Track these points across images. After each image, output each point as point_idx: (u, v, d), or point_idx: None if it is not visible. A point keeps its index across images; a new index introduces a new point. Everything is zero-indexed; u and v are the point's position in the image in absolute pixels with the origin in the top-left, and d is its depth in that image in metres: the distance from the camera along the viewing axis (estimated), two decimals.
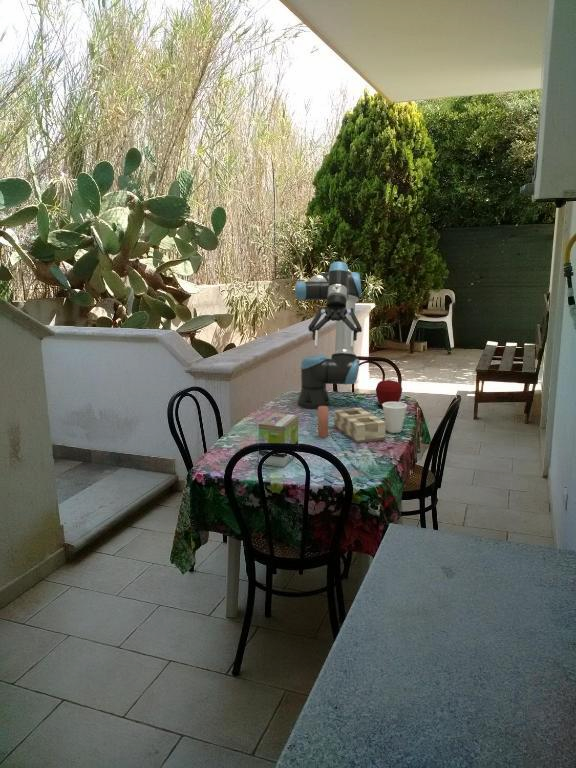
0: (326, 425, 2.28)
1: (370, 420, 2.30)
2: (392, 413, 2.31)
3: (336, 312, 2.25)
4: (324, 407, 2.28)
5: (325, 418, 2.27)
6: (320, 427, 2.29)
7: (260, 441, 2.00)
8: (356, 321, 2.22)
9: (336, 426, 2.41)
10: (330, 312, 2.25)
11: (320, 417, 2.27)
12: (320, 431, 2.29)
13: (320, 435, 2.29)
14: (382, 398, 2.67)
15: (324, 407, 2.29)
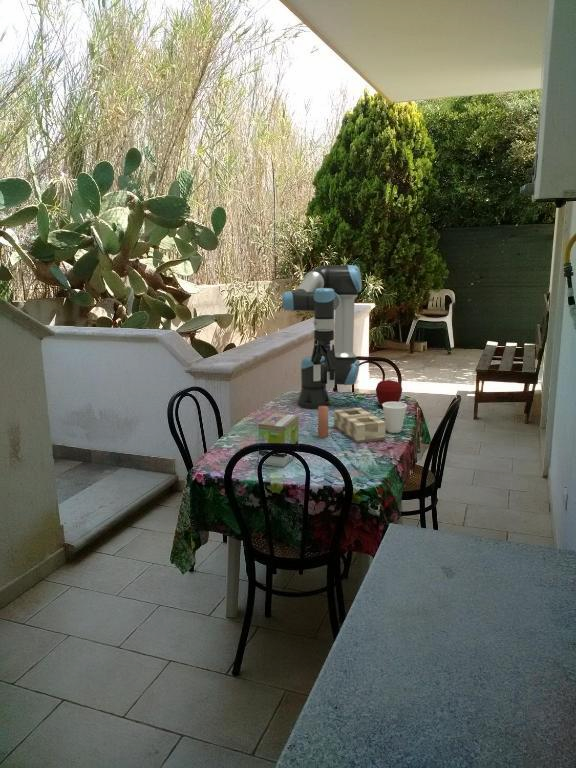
0: (326, 425, 2.28)
1: (370, 420, 2.30)
2: (392, 413, 2.31)
3: None
4: (324, 407, 2.28)
5: (325, 418, 2.27)
6: (320, 427, 2.29)
7: (260, 441, 2.00)
8: (329, 361, 2.16)
9: (336, 426, 2.41)
10: (317, 348, 2.24)
11: (320, 417, 2.27)
12: (320, 431, 2.29)
13: (320, 435, 2.29)
14: (382, 398, 2.67)
15: (324, 407, 2.29)
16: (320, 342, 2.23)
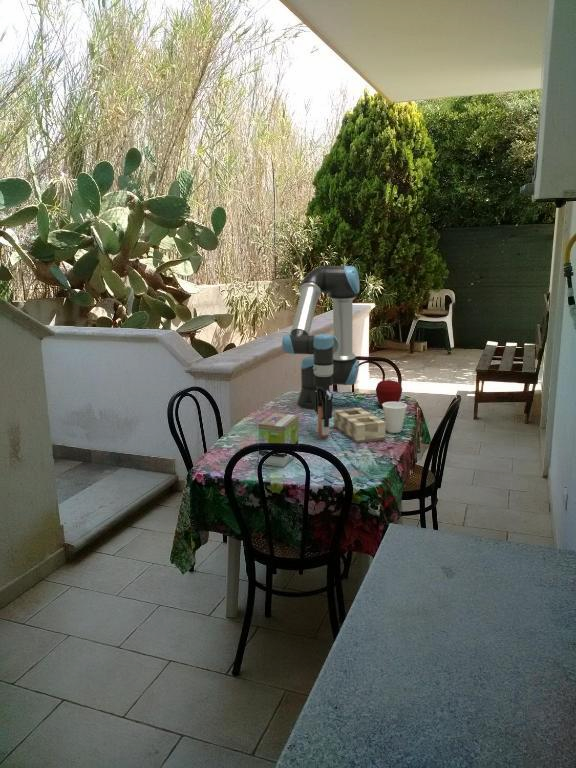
0: None
1: (370, 420, 2.30)
2: (392, 413, 2.31)
3: None
4: None
5: None
6: (320, 427, 2.29)
7: (260, 441, 2.00)
8: (325, 409, 2.23)
9: (336, 426, 2.41)
10: (317, 393, 2.28)
11: (320, 416, 2.28)
12: (320, 431, 2.29)
13: (320, 435, 2.29)
14: (382, 398, 2.67)
15: None
16: None
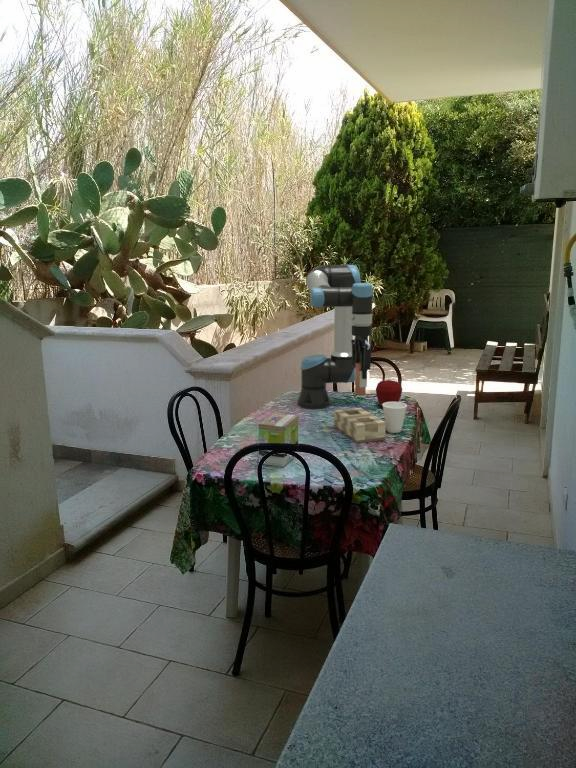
0: None
1: (370, 420, 2.30)
2: (392, 413, 2.31)
3: None
4: None
5: None
6: (357, 384, 2.23)
7: (260, 441, 2.00)
8: (364, 360, 2.18)
9: (336, 426, 2.41)
10: (355, 344, 2.22)
11: (358, 373, 2.22)
12: (357, 388, 2.24)
13: (357, 392, 2.24)
14: (382, 398, 2.67)
15: None
16: None
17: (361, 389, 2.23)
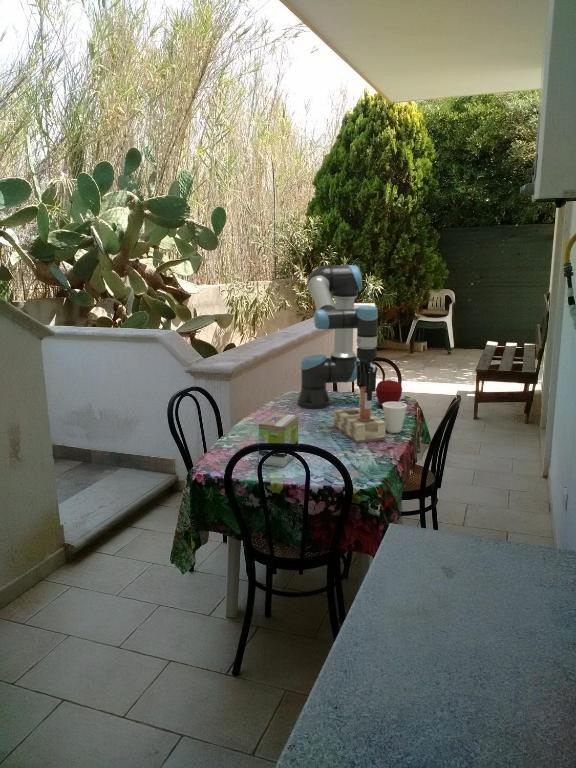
0: None
1: (370, 420, 2.30)
2: (392, 413, 2.31)
3: None
4: None
5: None
6: (363, 408, 2.25)
7: (260, 441, 2.00)
8: (369, 382, 2.19)
9: (336, 426, 2.41)
10: (360, 366, 2.24)
11: (363, 397, 2.24)
12: (362, 412, 2.26)
13: (362, 416, 2.26)
14: (382, 397, 2.67)
15: None
16: None
17: (366, 413, 2.25)
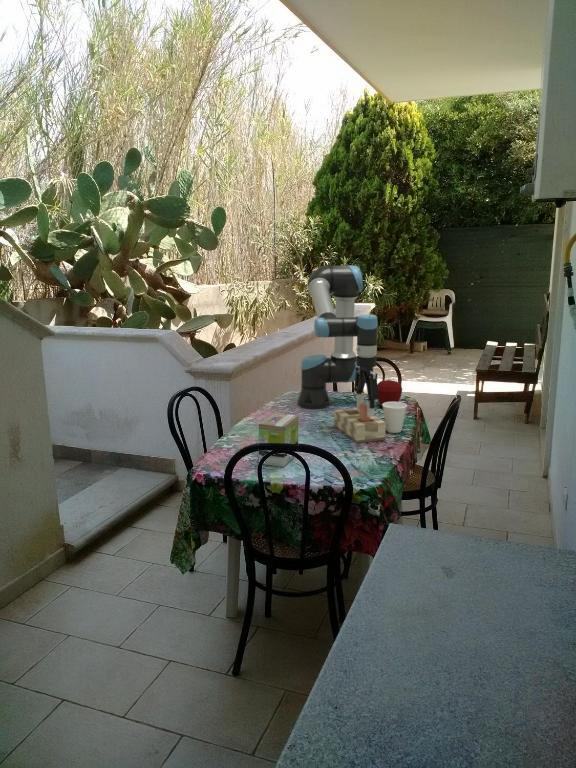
0: None
1: (370, 420, 2.30)
2: (392, 413, 2.31)
3: None
4: (365, 405, 2.26)
5: None
6: None
7: (260, 441, 2.00)
8: (371, 390, 2.19)
9: (336, 426, 2.41)
10: (359, 374, 2.25)
11: (362, 415, 2.26)
12: None
13: None
14: (382, 398, 2.67)
15: (365, 404, 2.27)
16: (362, 366, 2.24)
17: None
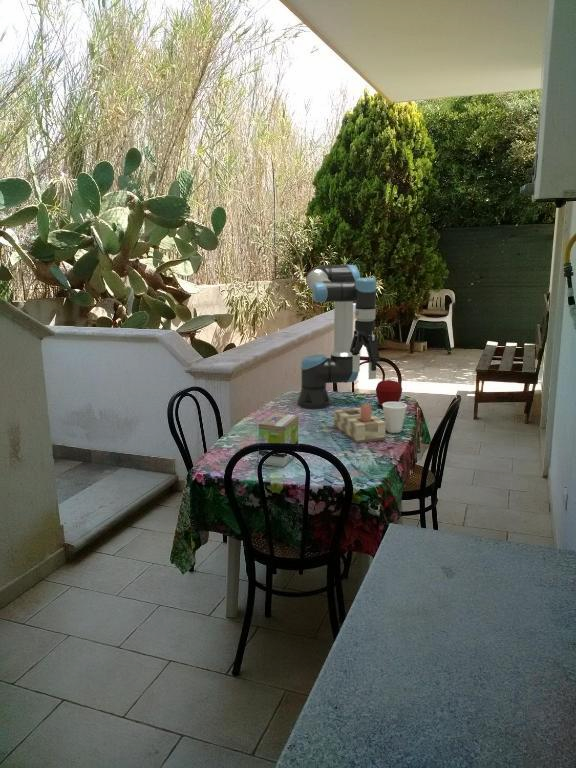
0: None
1: None
2: (392, 413, 2.31)
3: None
4: (367, 405, 2.26)
5: (368, 416, 2.26)
6: None
7: (260, 441, 2.00)
8: (371, 351, 2.15)
9: (336, 426, 2.41)
10: (358, 338, 2.23)
11: (363, 415, 2.26)
12: None
13: None
14: (382, 397, 2.67)
15: (367, 405, 2.27)
16: (361, 332, 2.21)
17: None
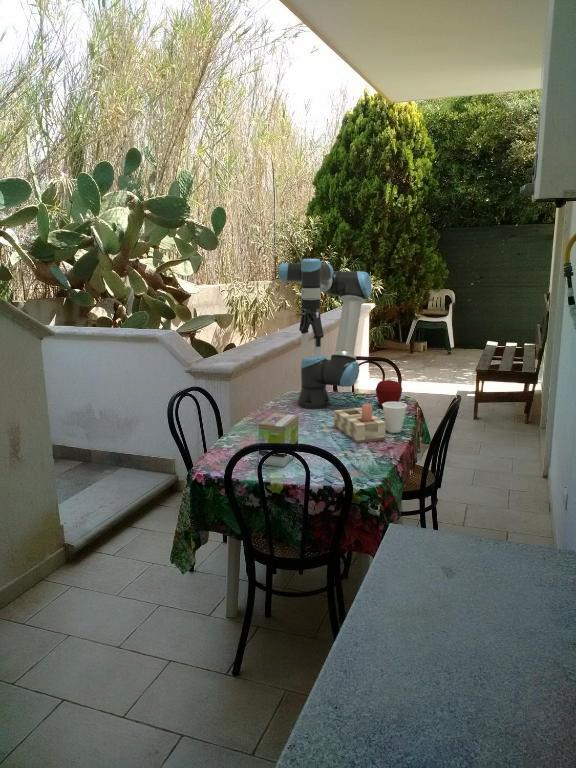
0: None
1: None
2: (392, 413, 2.31)
3: None
4: (368, 405, 2.26)
5: (368, 416, 2.26)
6: None
7: (260, 441, 2.00)
8: (315, 328, 2.25)
9: (336, 426, 2.41)
10: (304, 316, 2.34)
11: (364, 414, 2.26)
12: None
13: None
14: (382, 398, 2.67)
15: (368, 405, 2.27)
16: (307, 311, 2.32)
17: None
